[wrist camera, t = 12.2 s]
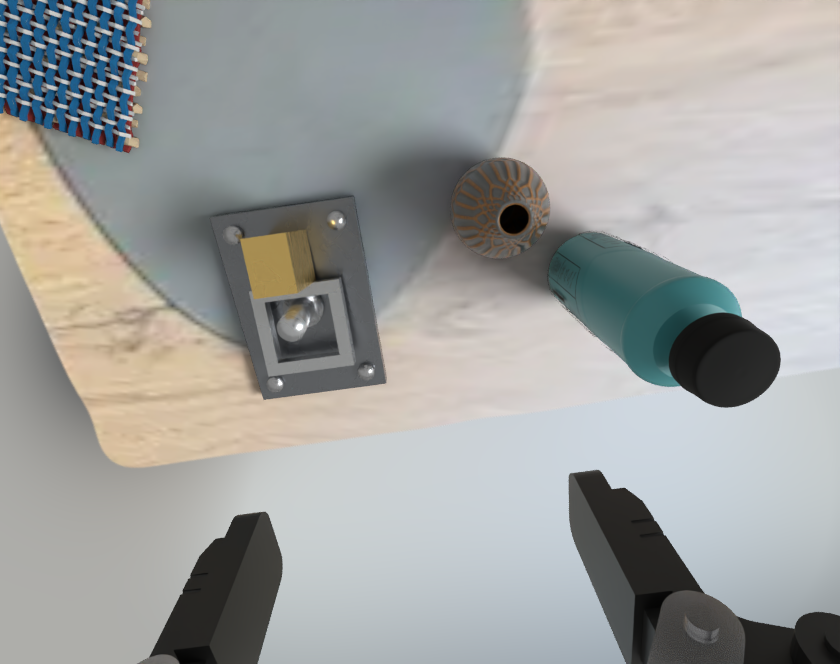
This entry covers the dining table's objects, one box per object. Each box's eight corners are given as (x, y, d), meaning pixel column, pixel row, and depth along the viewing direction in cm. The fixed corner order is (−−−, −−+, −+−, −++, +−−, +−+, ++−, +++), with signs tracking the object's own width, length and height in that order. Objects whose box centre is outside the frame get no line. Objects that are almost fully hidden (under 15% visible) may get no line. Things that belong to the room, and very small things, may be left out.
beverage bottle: (524, 277, 39) (632, 397, 21) (575, 208, 37) (744, 272, 19) (583, 316, 41) (734, 460, 22) (635, 252, 39) (849, 351, 20)
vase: (442, 162, 36) (454, 167, 28) (533, 151, 36) (571, 153, 27) (450, 251, 38) (462, 280, 30) (534, 241, 38) (570, 267, 30)
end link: (242, 238, 36) (209, 243, 30) (331, 225, 36) (315, 228, 30) (272, 371, 39) (248, 399, 33) (355, 360, 39) (345, 386, 33)
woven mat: (161, -4, 32) (145, -14, 30) (143, 155, 35) (129, 156, 33) (-6, -66, 30) (-34, -80, 28) (-6, 107, 34) (-30, 105, 32)
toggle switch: (214, 215, 37) (180, 228, 31) (353, 196, 36) (344, 205, 31) (266, 394, 42) (245, 431, 37) (386, 378, 42) (384, 413, 37)
